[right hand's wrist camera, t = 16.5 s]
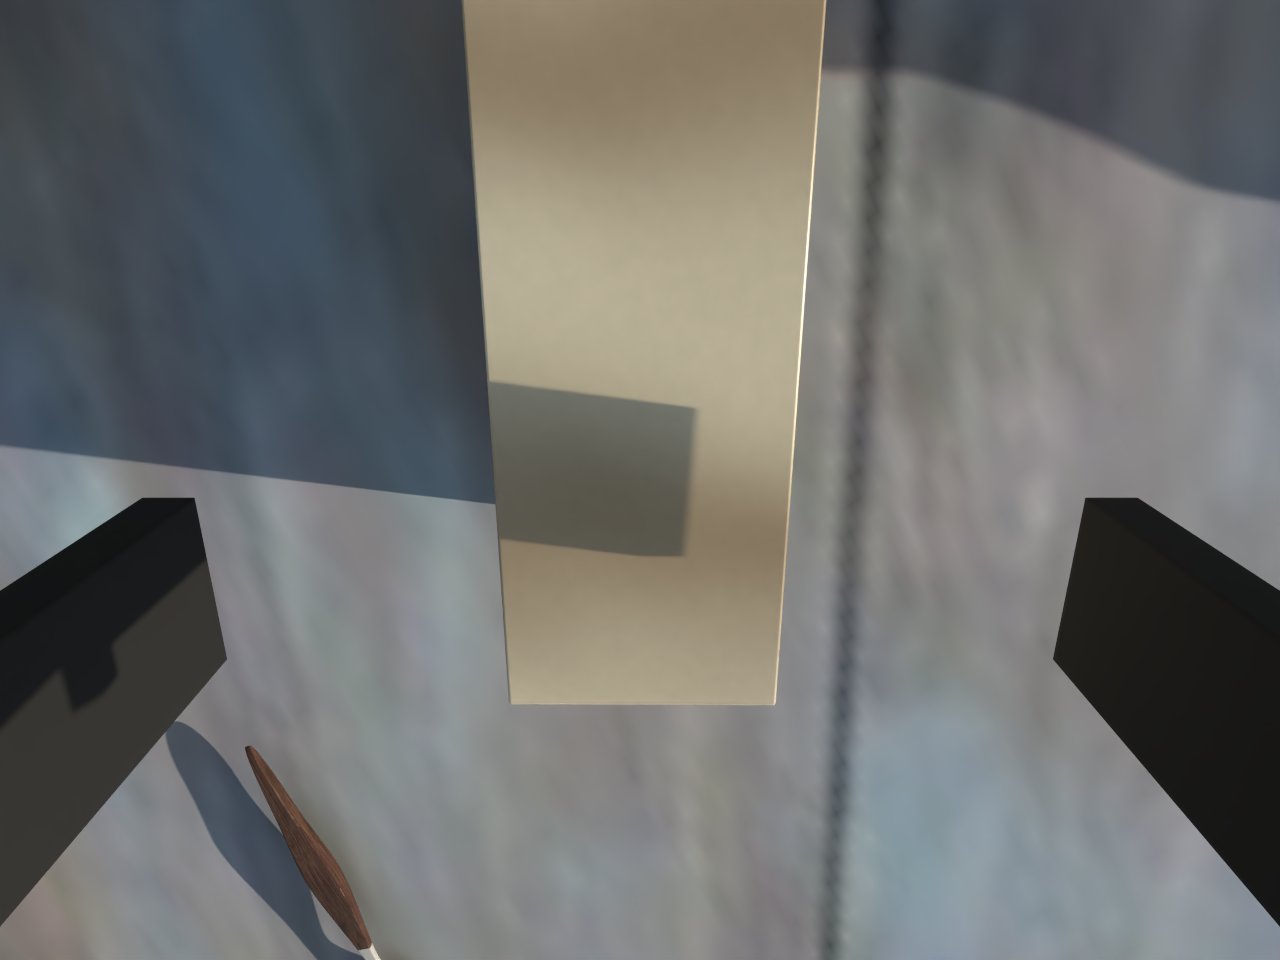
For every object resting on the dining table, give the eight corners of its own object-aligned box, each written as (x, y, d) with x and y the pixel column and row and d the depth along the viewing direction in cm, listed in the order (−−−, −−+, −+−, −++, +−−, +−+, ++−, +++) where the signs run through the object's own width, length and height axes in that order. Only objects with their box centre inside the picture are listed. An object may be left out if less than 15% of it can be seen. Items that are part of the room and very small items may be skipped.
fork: (292, 725, 26) (265, 769, 25) (471, 1051, 32) (460, 1106, 30) (218, 745, 27) (186, 789, 25) (408, 1064, 32) (394, 1120, 30)
